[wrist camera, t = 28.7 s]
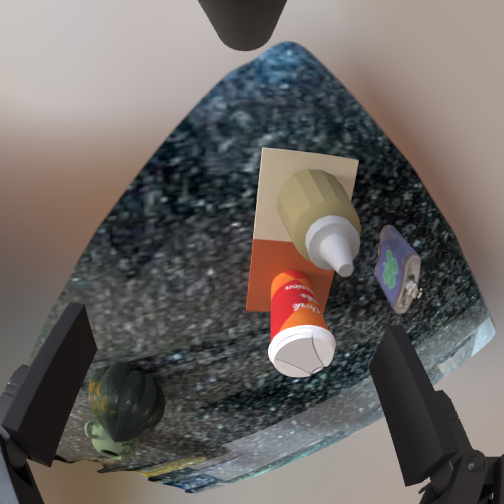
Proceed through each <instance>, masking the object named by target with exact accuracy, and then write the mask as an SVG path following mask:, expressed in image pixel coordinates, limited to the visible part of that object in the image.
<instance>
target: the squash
mask: <svg viewBox="0 0 504 504" xmlns="http://www.w3.org/2000/svg"><path fill="white" fill-rule="evenodd" d="M88 401H89V404H90V407H91V409H92V411H93V413H94V415H95V417H96V418H97V420H98V421H99V423H100V424H101V426H102V427H103V429H104V430H105V432H106V433H107V434H108V436H109V437H110V438H111V439H112V440H113V442H115V443H117V442H125V441H129V440H132V439H135V438H138V437H141V436H143V435H145V434H146V433H148V432H149V431H151V430H152V429H153V428H154V427H155V426H156V425H157V424H158V423H159V421H160V420H161V418H162V416H163V414H164V410H165V398H164V393H163V391H162V389H161V387H160V386H159V385H158V384H157V383H156V382H155V381H154V379H153V378H152V377H151V376H149V375H142V373H141V372H139V371H137V370H134V371H132V370H131V368H130V366H129V365H128V364H126V363H124V362H116V363H114V364H113V365H112V366H106V367H102V368H101V369H100V370H98V371H97V373H96V374H95V375H94V376H93V378H92V380H91V382H90V384H89V388H88Z"/></svg>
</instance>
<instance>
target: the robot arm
mask: <svg viewBox="0 0 504 504" xmlns="http://www.w3.org/2000/svg"><path fill="white" fill-rule="evenodd" d="M96 351H97V347H96V343H95V340H94V337H93V334H92V330H91V327H90V323H89V320H88V316H87V313H86V309H85V305H84V304H78V303H71V302H70V303H69V304H68V306H67V307H66V309H65V310H64V312H63V313H62V315H61V317H60V318H59V320H58V321H57V323H56V324H55V326H54V328H53V329H52V331H51V332H50V334H49V336H48V337H47V339H46V341H45V342H44V344H43V346H42V347H41V349H40V351H39V352H38V354H37V356H36V357H35V359H34V361H33V363H32V364H31V366H27V365H22V366H21V367H20V368H18V369H17V370H16V371H15V372H14V373H13V375H12V377H11V378H10V380H9V384H7V386H6V388H5V389H4V392H3V393H2V395H1V397H0V504H44V502H43V500H42V497H41V495H40V492H39V490H38V488H37V485H36V483H35V480H34V477H33V475H32V472H31V469H30V467H29V465H28V463H27V461H26V459H27V457H28V455H29V456H30V457H31V458H32V459H33V460H34V461H35V462H38V463H40V464H42V465H45V466H48V467H51V465H52V462H53V459H54V456H55V453H56V450H57V447H58V445H59V442H60V439H61V436H62V434H63V431H64V428H65V425H66V423H67V420H68V418H69V415H70V412H71V410H72V407H73V405H74V402H75V400H76V397H77V395H78V393H79V390H80V388H81V385H82V383H83V381H84V378H85V376H86V374H87V371H88V369H89V367H90V365H91V362H92V360H93V358H94V356H95V353H96ZM369 370H370V373H371V375H372V378H373V381H374V384H375V387H376V390H377V393H378V396H379V399H380V402H381V405H382V408H383V411H384V415H385V417H386V421H387V424H388V427H389V431H390V434H391V437H392V440H393V444H394V447H395V451H396V454H397V458H398V461H399V464H400V468H401V472H402V475H403V479H404V483H405V486H411V485H414V484H418V483H421V482H423V481H424V480H425V479H427V478H428V477H430V480H431V482H430V483H428V484H427V485H426V486H425V487H423V488H422V489H421V490H420V491H419V492H418V493H419V494H421V493H422V492H423V491H425V493H424V494H423V497H422V499H421V501H420V503H419V504H504V454H503V455H502V456H501V457H485V456H484V454H483V453H482V452H480V451H478V450H473V448H472V446H471V445H470V442H469V440H468V437H467V435H466V432H465V430H464V428H463V426H462V423H461V421H460V419H458V414H457V412H456V411H455V408H454V406H453V404H452V401H451V399H450V398H449V397H448V396H447V395H446V393H444V391H443V390H439V391H435V390H434V388H433V386H432V384H431V382H430V379H429V377H428V375H427V373H426V371H425V369H424V367H423V365H422V363H421V361H420V359H419V357H418V355H417V353H416V351H415V349H414V347H413V345H412V343H411V341H410V339H409V337H408V335H407V333H406V331H405V329H404V328H403V326H402V325H388V326H387V328H386V331H385V333H384V335H383V337H382V340H381V342H380V344H379V346H378V348H377V350H376V353H375V355H374V357H373V359H372V361H371V363H370V365H369ZM492 494H493V498H492Z"/></svg>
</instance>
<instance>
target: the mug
mask: <svg viewBox="0 0 504 504" xmlns="http://www.w3.org/2000/svg"><path fill="white" fill-rule="evenodd" d="M89 424H93V430H92V435H90V434H89V431H88V426H89ZM85 434H86V435H87V437H89V438H92V442H93V445H94V447H95V448H96V450H97V451H98V452H99V453H101V454H102V455H104V456H106V457H109V458H111V459H115V460H127V459H129V458H131V457H132V456H133V454H134V453H135V452H136V450H137V448H138V445H139V437H138V438H135V439H132V440H129V441H125V442H117V443H115V442H113V440H112V439H111V438H110V437H109V436H108V434H107V433H106V432H105V430H104V429H103V427H102V426H101V424H100V423H99V421H98V420H97V421H93V420H90V421H88V422H87V423H86V424H85Z"/></svg>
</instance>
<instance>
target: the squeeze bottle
mask: <svg viewBox="0 0 504 504" xmlns="http://www.w3.org/2000/svg"><path fill="white" fill-rule="evenodd" d="M277 210H278V212H279V215H280V217H281V220H282V222H283V224H284V226H285V228H286V230H287V231H288V233H289V235H290V237H291V239H292V241H293V243H294V245H295V247H296V249H297V251H298V252H299V253H300V254H301V255H302V256H303V257H304V258H305V259H306V260H309V261H311V262H313V263H314V264H315V265H316V266H317V267H320V268H322V269H325V270H336V271H337V273H338V274H339V275H340V276H342V277H347V276H350V275H351V274H352V272H353V263H352V261H353V260H354V258H355V257H356V255H357V254H358V252H359V247H360V233H361V225H360V221H359V217H358V215H357V213H356V211H355V209H354V207H353V205H352V203H351V201H350V199H349V197H348V195H347V193H346V192H345V190H344V188H343V186H342V185H341V183H340V182H339V181H338V180H337V179H336V178H335V176H333V175H331V174H329V173H327V172H325V171H323V170H311V169H307V170H305V171H302V172H299V173H296V174H294V175H293V176H292V177H291V178H290V179H288V180H287V181H286V182H285V183H284V184H283V186H282V188H281V190H280V193H279V195H278V205H277Z"/></svg>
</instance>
